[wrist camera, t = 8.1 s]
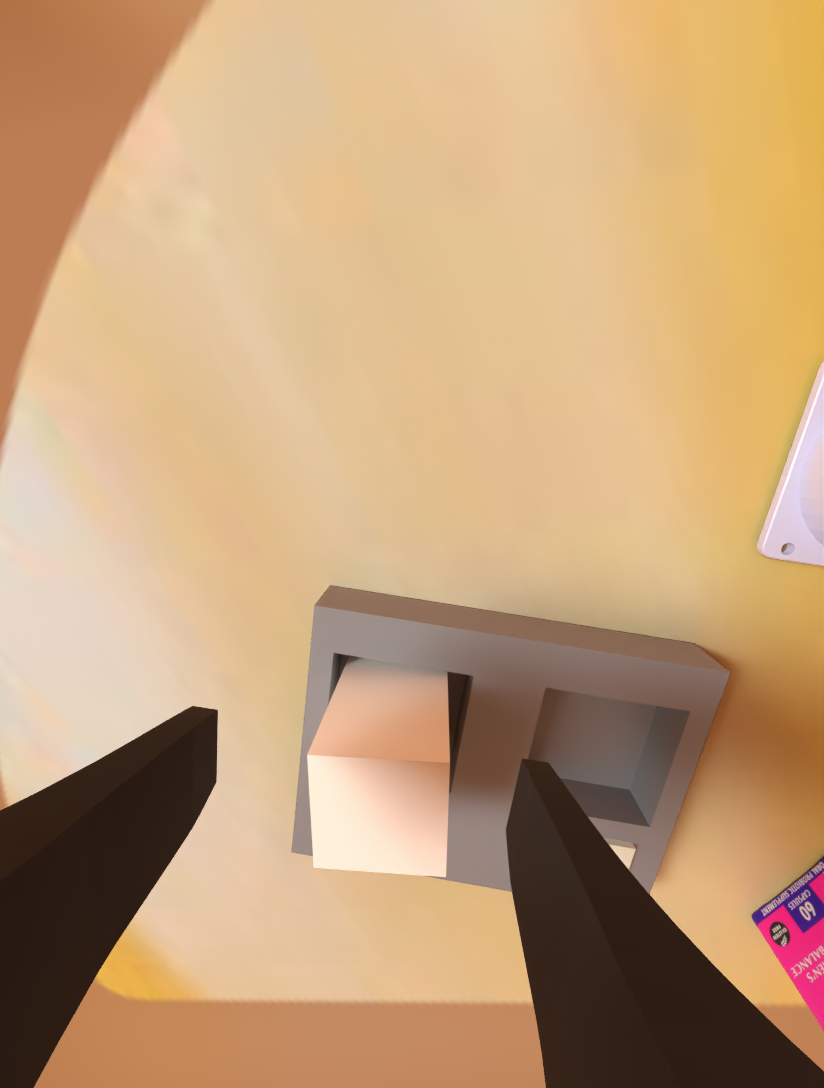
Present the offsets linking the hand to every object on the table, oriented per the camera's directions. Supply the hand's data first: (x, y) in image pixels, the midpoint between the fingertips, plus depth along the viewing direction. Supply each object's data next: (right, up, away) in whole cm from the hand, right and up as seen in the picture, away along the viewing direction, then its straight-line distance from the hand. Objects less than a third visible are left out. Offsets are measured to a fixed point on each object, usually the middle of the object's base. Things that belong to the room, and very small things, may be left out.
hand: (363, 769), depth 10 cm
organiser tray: (+5, -4, +11) cm, 13 cm away
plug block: (0, -2, +11) cm, 11 cm away
